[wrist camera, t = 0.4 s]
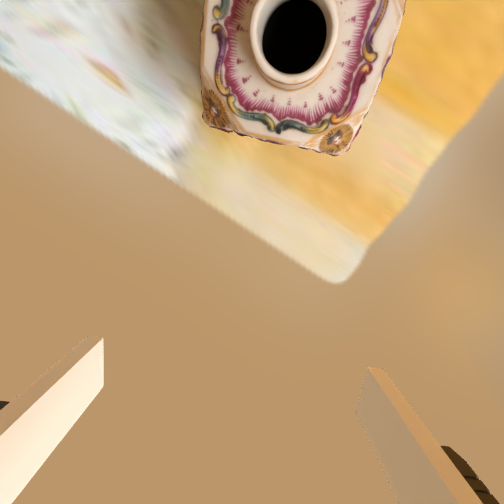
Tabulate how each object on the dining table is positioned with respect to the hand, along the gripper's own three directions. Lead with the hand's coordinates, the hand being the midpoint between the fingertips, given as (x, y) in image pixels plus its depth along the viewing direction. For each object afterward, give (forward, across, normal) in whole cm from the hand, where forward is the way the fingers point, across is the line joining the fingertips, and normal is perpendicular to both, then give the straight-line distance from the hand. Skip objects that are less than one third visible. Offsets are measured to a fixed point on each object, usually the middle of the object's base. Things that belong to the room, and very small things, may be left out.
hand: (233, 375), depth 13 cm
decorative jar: (+22, +3, +22) cm, 31 cm away
